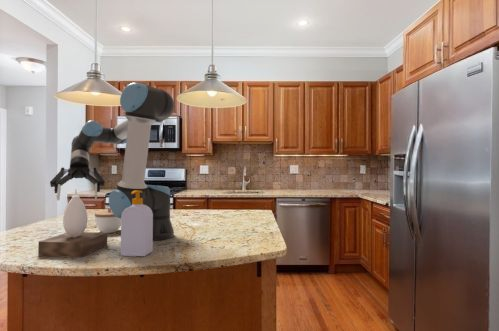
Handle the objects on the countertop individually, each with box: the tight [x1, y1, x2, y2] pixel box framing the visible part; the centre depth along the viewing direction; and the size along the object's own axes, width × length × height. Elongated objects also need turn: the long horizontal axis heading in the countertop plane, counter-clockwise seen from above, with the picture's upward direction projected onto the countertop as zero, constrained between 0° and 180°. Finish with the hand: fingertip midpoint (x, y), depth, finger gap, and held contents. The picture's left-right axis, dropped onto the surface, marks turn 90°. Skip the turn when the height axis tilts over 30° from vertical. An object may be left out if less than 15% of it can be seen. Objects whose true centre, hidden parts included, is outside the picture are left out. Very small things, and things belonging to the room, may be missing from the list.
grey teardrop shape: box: [62, 189, 88, 237], centre depth 112 cm, size 8×8×18 cm
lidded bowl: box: [94, 208, 121, 234], centre depth 145 cm, size 13×13×11 cm
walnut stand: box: [37, 231, 108, 258], centre depth 112 cm, size 16×16×5 cm
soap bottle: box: [120, 190, 154, 257], centre depth 108 cm, size 9×7×23 cm
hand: (77, 197), depth 124 cm, fingers open, 13 cm apart
